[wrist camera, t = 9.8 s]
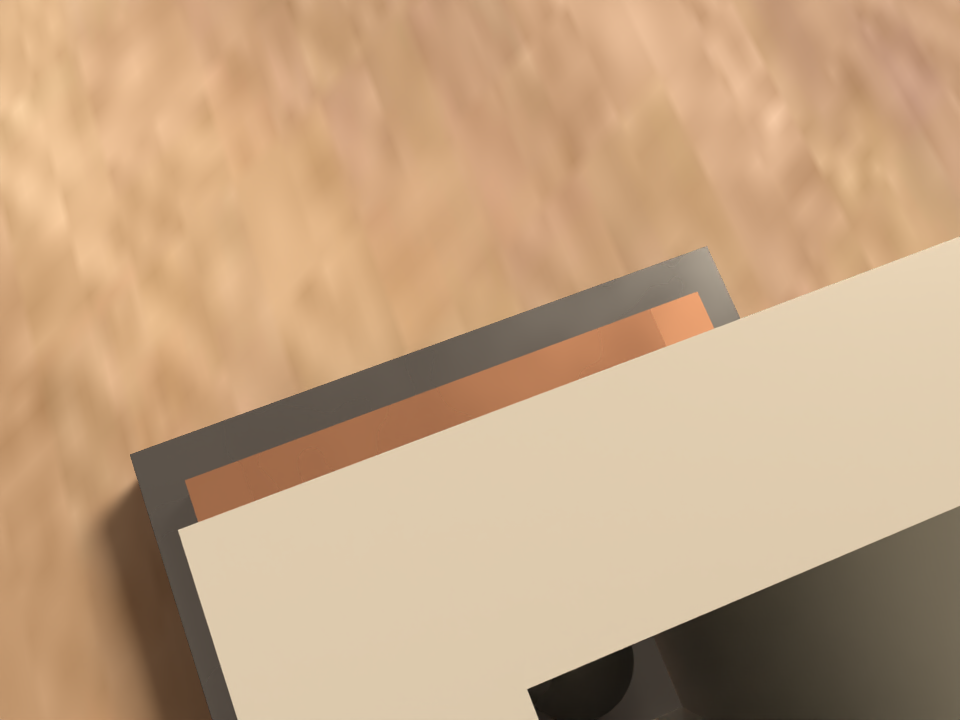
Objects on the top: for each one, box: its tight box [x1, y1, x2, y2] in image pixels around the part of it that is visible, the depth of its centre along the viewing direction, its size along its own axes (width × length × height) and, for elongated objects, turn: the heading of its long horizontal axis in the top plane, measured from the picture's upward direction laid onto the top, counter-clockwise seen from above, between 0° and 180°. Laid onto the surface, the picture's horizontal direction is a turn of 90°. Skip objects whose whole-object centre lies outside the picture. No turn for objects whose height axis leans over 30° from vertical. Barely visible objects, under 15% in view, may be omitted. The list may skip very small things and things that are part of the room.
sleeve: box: [178, 237, 960, 720], centre depth 9 cm, size 5×5×12 cm
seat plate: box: [130, 246, 740, 720], centre depth 16 cm, size 12×12×4 cm
